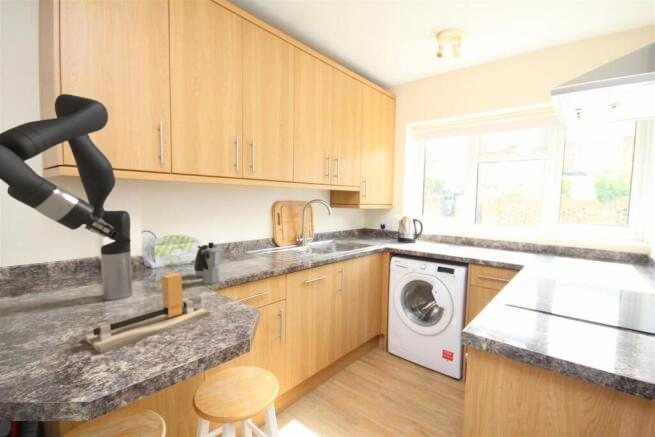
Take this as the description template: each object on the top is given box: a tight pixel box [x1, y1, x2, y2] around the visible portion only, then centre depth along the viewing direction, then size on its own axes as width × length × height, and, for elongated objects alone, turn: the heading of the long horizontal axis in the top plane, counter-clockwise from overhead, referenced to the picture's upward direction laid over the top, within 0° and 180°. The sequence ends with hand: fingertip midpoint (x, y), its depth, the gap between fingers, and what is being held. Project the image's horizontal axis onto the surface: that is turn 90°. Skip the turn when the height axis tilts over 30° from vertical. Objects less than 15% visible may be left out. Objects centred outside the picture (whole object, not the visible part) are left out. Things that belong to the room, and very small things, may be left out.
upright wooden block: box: [161, 272, 183, 317], centre depth 91 cm, size 4×4×12 cm
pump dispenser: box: [193, 244, 209, 278], centre depth 143 cm, size 10×10×15 cm
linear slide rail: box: [84, 295, 211, 354], centre depth 87 cm, size 12×29×5 cm, turn 143°
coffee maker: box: [201, 242, 223, 285], centre depth 132 cm, size 15×9×18 cm, turn 178°
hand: (127, 242), depth 86 cm, fingers closed
